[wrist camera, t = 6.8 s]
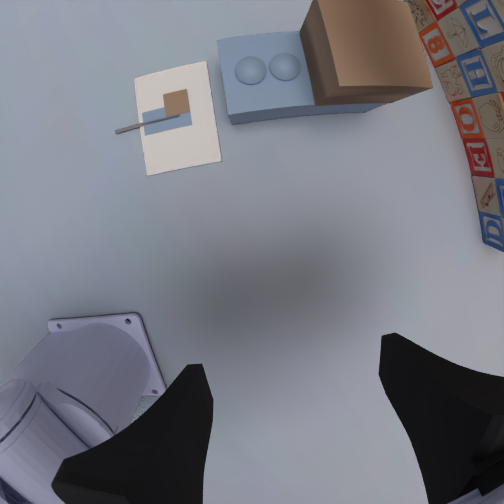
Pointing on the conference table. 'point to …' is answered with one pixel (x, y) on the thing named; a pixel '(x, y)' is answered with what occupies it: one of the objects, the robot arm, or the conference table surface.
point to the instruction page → (176, 119)
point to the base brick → (271, 79)
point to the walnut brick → (363, 52)
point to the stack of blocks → (472, 91)
